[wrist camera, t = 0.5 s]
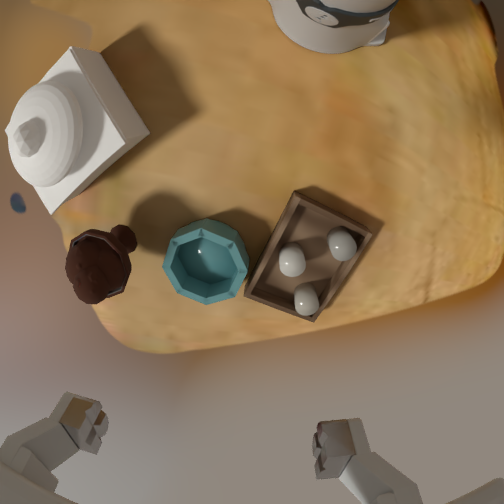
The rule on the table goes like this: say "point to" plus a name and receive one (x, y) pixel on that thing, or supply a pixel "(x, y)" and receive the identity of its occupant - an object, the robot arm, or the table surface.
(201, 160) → the table surface
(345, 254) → the pebble
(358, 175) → the table surface
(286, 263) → the pebble
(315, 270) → the tray
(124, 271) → the ice cream bowl
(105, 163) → the butter dish
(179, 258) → the bowl
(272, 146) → the table surface
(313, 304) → the pebble
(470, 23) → the table surface
